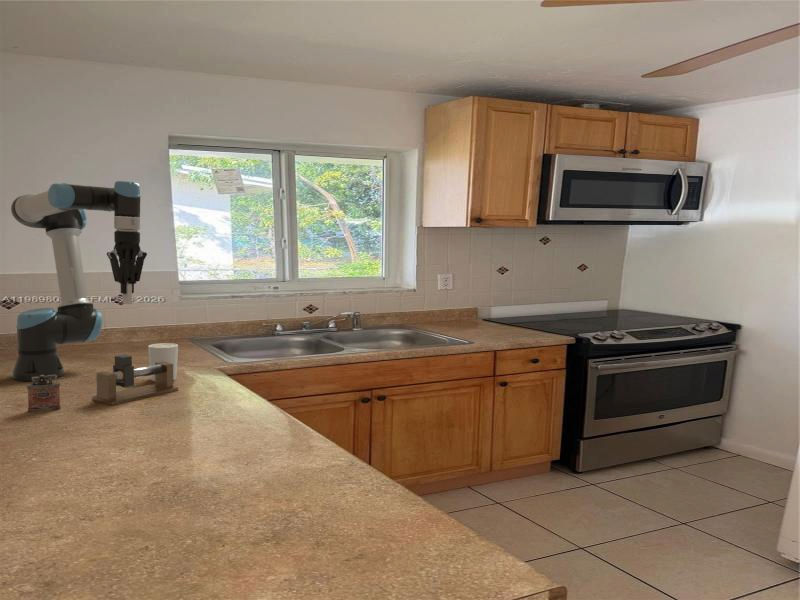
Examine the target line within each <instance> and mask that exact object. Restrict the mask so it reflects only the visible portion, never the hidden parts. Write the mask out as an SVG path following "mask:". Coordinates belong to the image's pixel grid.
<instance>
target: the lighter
mask: <svg viewBox="0 0 800 600" xmlns="http://www.w3.org/2000/svg"><path fill="white" fill-rule="evenodd" d="M53 380H54V381H56V380H58V377H57V375H47V376H44V375H40V376H39V377H32V381H31V383H29V384H27V385H26V388H27V403H28V405H27V406H28V407H27V412H28V413H44V412H53V411H59V410H61V409H62V406H61V397H60V395H61V391H60V386H61V383H60V382H58V381H57V382H53Z"/></svg>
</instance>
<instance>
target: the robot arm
mask: <svg viewBox="0 0 800 600" xmlns="http://www.w3.org/2000/svg"><path fill="white" fill-rule="evenodd" d="M141 196H142V195H141V186H140V183H138V182H134V181H127V180H126V181H124V180H123V181H122V180H117V181H115V182H114V185H113V187H107V186H106V187H105V186H104V187H103V186H102V187H101V186H95V185H93V186H91V185H81V184H80V185H79V184H70V183H69V184H68V183H65V182H64V183H63V182H62V183H53V184H51V185H50V186H49V188H48V190H46V191H44V192H43V191H42V192H40V193H37V194H28V193H27V194H23V195H20V196H18V197H16V198H15V199H14V200H13V201H12V203H11V205H10V209H11V210H10V211H11V214H12V216H13V218H14V219H15V220H16V222H18V223H19V224H20V225H23V226H25V227H29V228H32V229H44V230H45V235H46V236H47V237H48V238H50V239H51V242H52V243H51V244H52V250H53V256H54V257H53V258H54V262H55V263H54V264H55V269H56V278H57V283H58V291H59V296H60V303H59V305H58V306H57V310H56V308H53V307H46V308H45V307H44V308H35V309H29V310H26V311H23V312H20V313H19V314H18V315H17V318H16V319H17V321H16V330H17V331H16V333H17V354H18V355H17V358H16V361H15V364H14V367H13V371H12V379H13V380H15V381H20V382H21V381H22V382H32V377H39V376H40V375H44V376H47V375H57V378H60V377H62V376H63V375H64V367H63V364H62V362H61V360H60V357H59V355H58V345H65V344H72V343H73V344H76V343H86V342H89V341H95V340H96V339H97V338H98V337H99V336H100V334H101V332H102V329H103V315H102V313H101V311H100V310H99V309H98V308H94V303H93V302H92V301H90V300H89V299H88V294H87V287H86V281H85V273H84V267H83V259H82V254H81V253H82V252H81V247H80V241H79V236H80V235H81V234H82V233H83V232H82V231H83V230H84V228H86V225H87V213H86V210H87V211H104V212H109V213H110V212H114V215H113V216H114V217H113V218H114V219H113V223H114V224H113V228H114V229H115V230H114V235H113V237H114V238H113V240H114V246H113V249H112V250H111V251H107V253H106V256H107V257H108V259H109V261H110V268H111V270H112V275H113V279H114V282H116V283H119V284H120V293H121V295H122V304H125V305H132V304H133V294H134V292H135V290H134V289H135V288H134V287H135V284H137V282H140V280H141V275H142V270H143V266H144V262H145V259H146V257H147V256H148V253H147V252H144V251H142V250H141V246H140V242H141V232H140V230H141Z"/></svg>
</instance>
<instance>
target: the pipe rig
mask: <svg viewBox="0 0 800 600" xmlns="http://www.w3.org/2000/svg"><path fill="white" fill-rule="evenodd" d="M95 374H96V395H94V396H92V397H91V400H92V401H95V402H98V403H102V404H105V405H109V406H116V405H122V404H126V403H128V402H134V401H138V400H142V399H145V398H146V399H147V398H151V397H155V396H160V395H165V394H168V393H173V392H177V391H179V386H178V387H177V386H174V380H173V364H172V363H167V362H162V361H161V362H155V365H152V366H150V365H148V366H142V367H141V366H140V367H137V368H135V367H134V379H138V378H145V377H150V376H151V375H155V381H154V382H155V383H153V384H148V385H141V386H137V387H134V388H128V389H123V390H118V391H117V385H116V382H118V381H119V382H122V381H123V370H120V371H117V372H113V371H112V372H109V371H99V372H96V373H95Z"/></svg>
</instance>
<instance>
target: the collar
mask: <svg viewBox="0 0 800 600" xmlns="http://www.w3.org/2000/svg"><path fill="white" fill-rule="evenodd" d="M132 360H133V357H132V355H127V354H121V355H115V356H114V364H113V365H112V373H113V372H117V371H120V370H123V381H122V382H119V381H118V382H116V387H117V386H118V387H122V388H129V387H134V386H135V378H134V369H135V367H134V366H133V363H132V362H133V361H132Z"/></svg>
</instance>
